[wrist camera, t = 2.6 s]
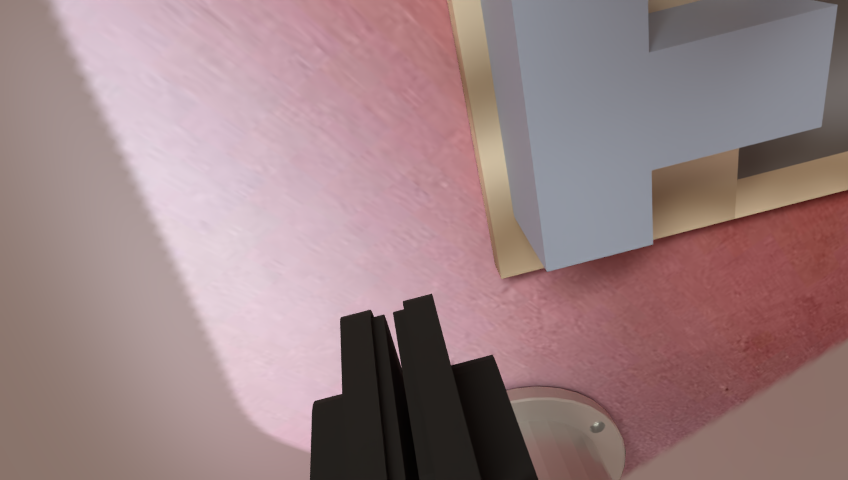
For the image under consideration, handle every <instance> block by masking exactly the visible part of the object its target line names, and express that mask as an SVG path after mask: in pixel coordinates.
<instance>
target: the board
mask: <svg viewBox="0 0 848 480" xmlns="http://www.w3.org/2000/svg"><path fill="white" fill-rule="evenodd" d="M696 1H700V0H648V13H652V12H656V11H660V10H664V9H668V8H672V7H676V6H680V5H684V4H688V3H692V2H696ZM815 1H820V2H825V3H831V4H836V5H838V6H837V14H836V21H835V29H834V36H833V44H832V51H831V59H830V67H829V74H828V82H827V89H826V97H825V104H824V112H823V119H822V127H819V128H815V129H811V130H807V131H803V132H800V133H796V134H792V135H788V136H784V137H780V138H776V139H772V140H768V141H764V142H761V143H757V144H753V145H749V146H745V147H741V148H737V149H733V150H729V151H725V152H721V153H718V154H714V155H710V156H706V157H702V158H698V159H694V160H690V161H686V162H682V163H679V164H675V165H671V166H667V167H663V168H659V169H655V170H652V219H653V240H654V239H658V238H662V237H666V236H670V235H674V234H678V233H682V232H686V231H689V230H693V229H697V228H701V227H705V226H709V225H713V224H717V223H720V222H724V221H728V220H732V219H736V218H740V217H744V216H748V215H752V214H755V213H759V212H763V211H767V210H771V209H775V208H779V207H783V206H786V205H790V204H794V203H798V202H802V201H806V200H810V199H814V198H818V197H821V196H825V195H829V194H833V193H837V192H841V191H845V190H848V0H815ZM447 3H448V8H449V14H450V19H451V25H452V30H453V36H454V41H455V47H456V52H457V58H458V63H459V69H460V74H461V80H462V85H463V91H464V96H465V102H466V107H467V113H468V118H469V124H470V129H471V135H472V140H473V146H474V151H475V156H476V162H477V167H478V173H479V178H480V184H481V189H482V195H483V200H484V206H485V211H486V217H487V222H488V228H489V233H490V239H491V244H492V250H493V255H494V261H495V266H496V268H497V270H498V272H499V274H500V276H501V279H503V278H507V277H511V276H515V275H519V274H523V273H526V272H530V271H534V270H538V269H542V268H544V266H543V264H542V263H541V261H540V259H539V258H538V256H537V254H536V253H535V251H534V249H533V248H532V246H531V244H530V243H529V241H528V239H527V237H526V236H525V234H524V232H523V231H522V229H521V227H520V226H519V224H518V222H517V221H516V219H515V217H514V213H513V206H512V200H511V194H510V187H509V181H508V174H507V168H506V161H505V155H504V149H503V142H502V136H501V129H500V123H499V116H498V110H497V104H496V97H495V91H494V84H493V78H492V71H491V65H490V58H489V52H488V46H487V39H486V33H485V26H484V20H483V13H482V7H481V1H480V0H447Z"/></svg>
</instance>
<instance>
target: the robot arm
mask: <svg viewBox="0 0 848 480" xmlns="http://www.w3.org/2000/svg"><path fill="white" fill-rule="evenodd" d="M403 306H404V310H400V311H396V312H393V315H394V322H395V328H396V334H397V341H398V347H399V353H400V360H401V365H400V362H399V359H398V356H397V352H396V349H395V346H394V343H393V340H392V337H391V333H390V330H389V327H388V324H387V321H386V318H385V315H380V316H377V317H374V316H373V313H372V311H371V310H367V311H364V312H360V313H356V314H352V315H348V316H344V317H341V319H340V331H341V364H342V394H340V395H336V396H332V397H329V398H325V399H321V400H317V401H315V402H314V404H313V409H312V432H311V467H310V480H620V478H621V475H622V472H623V469H624V466H625V454H626V451H625V447H624V442H623V438H622V436H621V434H620V432H619V430H618V428H617V426H616V424H615V422H614V421H613V419H612V418H611V417H610V415H609V414H608V413H607V411H606V410H605V409H604V408H602V407H601V406H600V405H599V404H597V403H596V402H595V401H594V400H592V399H590V398H588V397H586V396H583V395H581V394H579V393H577V392H573V391H569V390H565V389H561V388H552V387H539V386H538V387H525V388H515V389H511V390H506V389H505V386H504V383H503V380H502V378H501V375H500V372H499V369H498V367H497V364H496V361H495V359H494V357H493V355H490V356H486V357H482V358H478V359H474V360H470V361H467V362H463V363H459V364H455V365H451V364H450V360H449V356H448V353H447V349H446V345H445V341H444V337H443V334H442V330H441V326H440V322H439V318H438V315H437V311H436V307H435V303H434V300H433V296H432V294H429V295H425V296H421V297H418V298H414V299H410V300H406V301H403ZM401 366H402V368H401Z"/></svg>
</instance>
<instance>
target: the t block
mask: <svg viewBox="0 0 848 480" xmlns="http://www.w3.org/2000/svg"><path fill="white" fill-rule="evenodd" d="M480 1H481V7H482V13H483V20H484V26H485V33H486V39H487V46H488V52H489V58H490V65H491V71H492V78H493V84H494V91H495V97H496V104H497V110H498V116H499V123H500V129H501V136H502V142H503V149H504V155H505V161H506V168H507V174H508V181H509V187H510V194H511V200H512V206H513V213H514V217H515V219H516V221H517V222H518V224H519V226H520V227H521V229H522V231H523V232H524V234H525V236H526V237H527V239H528V241H529V243H530V244H531V246H532V248H533V249H534V251H535V253H536V254H537V256H538V258H539V259H540V261H541V263H542V264H543V266H544V268H545V269H546V271H547V272H548V271H552V270H556V269H560V268H564V267H568V266H572V265H575V264H579V263H583V262H587V261H591V260H595V259H599V258H603V257H606V256H610V255H614V254H618V253H622V252H626V251H630V250H634V249H638V248H641V247H645V246H649V245H653V219H652V170H655V169H659V168H663V167H667V166H671V165H675V164H679V163H682V162H686V161H690V160H694V159H698V158H702V157H706V156H710V155H714V154H718V153H721V152H725V151H729V150H733V149H737V148H741V147H745V146H749V145H753V144H757V143H761V142H764V141H768V140H772V139H776V138H780V137H784V136H788V135H792V134H796V133H800V132H803V131H807V130H811V129H815V128H819V127H822V119H823V112H824V104H825V97H826V89H827V82H828V74H829V67H830V59H831V51H832V44H833V36H834V29H835V21H836V14H837V6H838V5H836V4H831V3H825V2H820V1H815V0H700V1H696V2H692V3H688V4H684V5H680V6H676V7H672V8H668V9H664V10H660V11H656V12H652V13H648V0H480Z"/></svg>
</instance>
